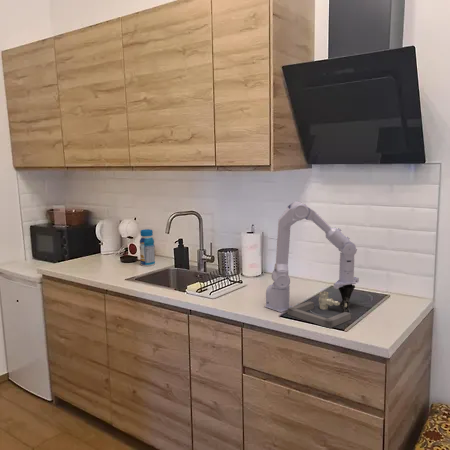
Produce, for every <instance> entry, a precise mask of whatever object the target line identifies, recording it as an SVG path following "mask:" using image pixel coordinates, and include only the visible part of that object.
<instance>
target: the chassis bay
mask: <svg viewBox="0 0 450 450" xmlns="http://www.w3.org/2000/svg"><path fill="white" fill-rule="evenodd" d="M314 307H315V303H314V302H313V301H309V300H308V301H306V302H302V303H300V304H296V305H294V306H293V307H290V308H288V310H287V315H288V316H291V317H294V318H297V319H300V320H303V321H305V322H306V321H307V322H309V323H313V324H316V325H318V326H322V327H324V328H328V329H333V328H334V327H336V326H339V325H341V324H344V323H347V322H349V321H350V320H351V319H352V313H350V312H348V311H347V312H343V313H342V312H340V313H338V314H336V315H334V316H330V317H324V316H321V315H318V314H315V313H311V312H308V311H312V310H314V309H315V308H314Z"/></svg>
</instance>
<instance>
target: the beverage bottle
mask: <svg viewBox="0 0 450 450" xmlns="http://www.w3.org/2000/svg"><path fill="white" fill-rule="evenodd" d="M153 231H154V230H152V229H149V228H145V229H141V230H140V239H139V254H140V255H139V258H140V266H143V267H151V266H154V265H155V264H156V261H155V260H156V259H155V256H156V255H155V240H154V238H153Z"/></svg>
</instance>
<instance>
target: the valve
mask: <svg viewBox="0 0 450 450" xmlns="http://www.w3.org/2000/svg"><path fill="white" fill-rule="evenodd" d="M344 299H345V300H342V299H341V301H338V300H334V298H329V292H328V291H320V292H319V297H318V303H319V309H320V310H324V311H326V310H329V306H330V307H332V306H339V307H340V309H341V312H340V313H343V312H348V311H349V310H350V307H349V306H351V302H350V299H351V298H350V299H349V298H347V297H344ZM345 302H347V303H345Z"/></svg>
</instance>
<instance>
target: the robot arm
mask: <svg viewBox="0 0 450 450" xmlns="http://www.w3.org/2000/svg"><path fill="white" fill-rule="evenodd" d="M304 219H305V220H307V221H311V222H313V223H314V225H316V226H317V227H319V228H320V229H321V230H322V231H323V232H324V233H325V239H326V240H328V241H329V242H330V243H331V244H332V245H333V246H334V247H335V248H336V249H337V250H338V251H339V271H338V272H339V273H338V274H339V276H338V278H339V279H338V280H337V281H336V282H334V283H333V289H335V290H338V291H339V292H340V295H341V301H342V300H345V299H344V297H347V298H349V299H351V297H352V294H353V292H354V290H355V288H356V286H355V285H356V284H357V283H359V282H360V281H359V279H360V278H359V277H357V276H355V255H356V254H357V250H358V249H357V247H356V244H355V243H353V242H352V241H351V240H350V237H348V236H346V235H345V234H344V233H342V230H341V228H340V227H339V228H338V227H336V226H335V227H331V226H330V225H329V224H328V223H327V222H326V221H325V220H324V219H323V218H322V217H321V216H320V214H319V213H317V212H316V211H315V210H313V209H312V208H311V207H309V206H307V205H306V203H303V202H301V201H298V200H295V201H292V202H291V203H289V204H288V205H287V206H286V209H285V210H284V211H283V213H282V214H281V216H280V217H279V219H278V224H277V241H276V254H275V255H276V256H275V264H274V267H273V268H274V269H273V270H272V273H271V280H272V281H273V283H272V284H269V285H268V286H267V288H266V291H265V305H264V307H265V308H266V309H270V310H272V311H277V312H278V313H283V312H286V311H287V312H288V308H290V307H293V306H292V305H290V296H291V295H290V293H291V292H290V290H291V288H290V287H291V285H290V284H291V278H290V276H289V256H290V255H289V253H290V241H291V240H290V237H291V227H292V226H293V225H294V224H295V223H297V222H299V221H302V220H304ZM345 303H347V302H345Z"/></svg>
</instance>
